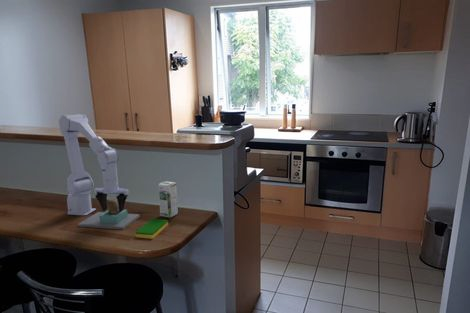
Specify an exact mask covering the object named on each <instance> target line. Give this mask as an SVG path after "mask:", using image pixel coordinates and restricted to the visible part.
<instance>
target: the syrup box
mask: <svg viewBox="0 0 470 313" xmlns="http://www.w3.org/2000/svg"><path fill="white" fill-rule="evenodd" d="M177 190H178V188H177V182H173V181H167V180H166V181H162V182H160V183H158V200H159V216H160V217H165V218H172V217H174V216H176V215H177V214H178V212H179V209H178V191H177Z"/></svg>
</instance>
